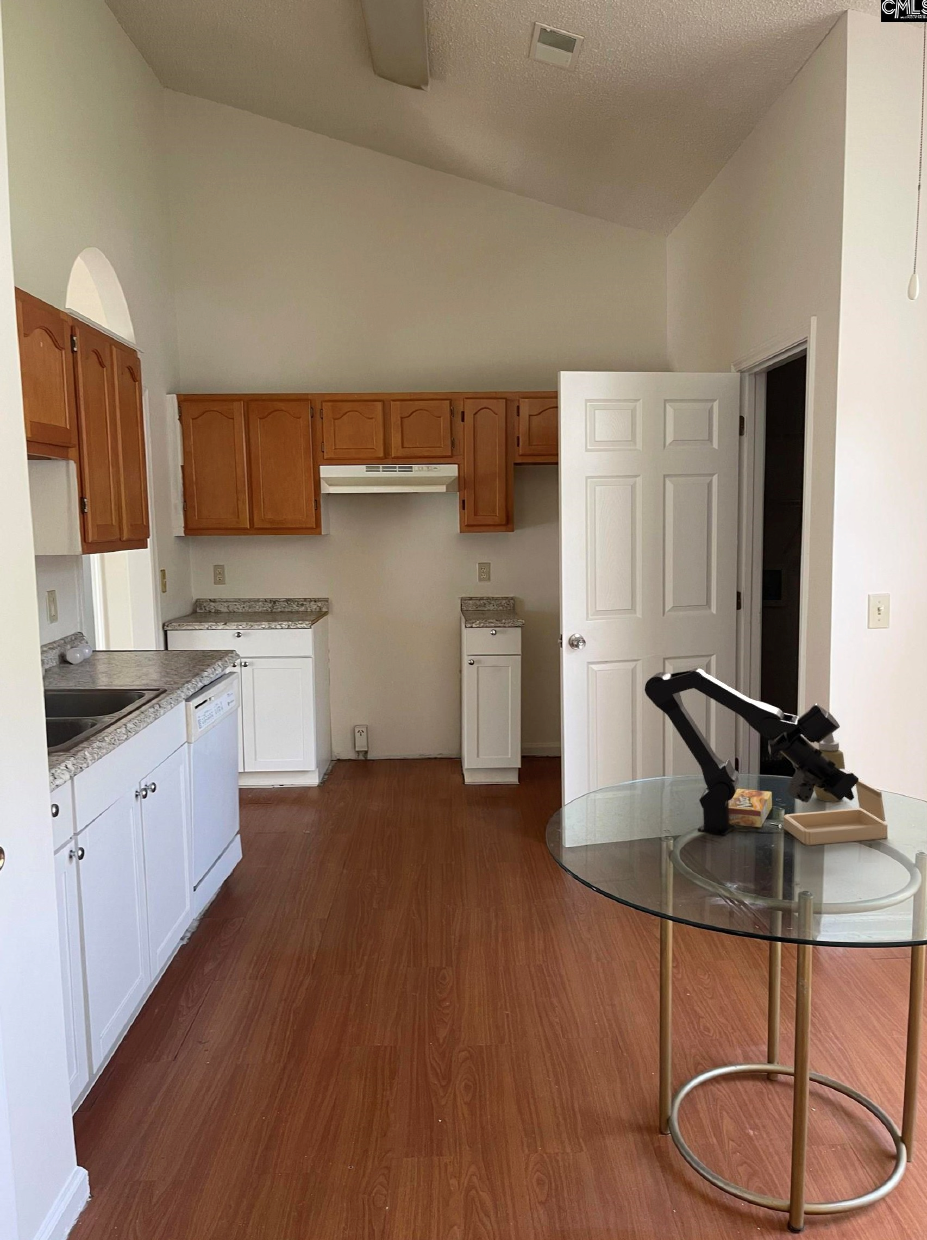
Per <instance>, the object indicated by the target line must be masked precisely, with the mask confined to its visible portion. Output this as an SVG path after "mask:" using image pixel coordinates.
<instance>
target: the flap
mask: <svg viewBox="0 0 927 1240" xmlns="http://www.w3.org/2000/svg"><path fill="white" fill-rule="evenodd" d="M855 789H856V793H857V794H856V796H857V801H858V806H859V809H862V810H864V811H866V812H867V813H869V814H871V815H872V816H874V817H876V818H877V819H879V820H880V821H882V822H884V823H885V822H886V816H885V809H884V803H883V796H882V794H883V793H882V791H881V790H878V789H877V788H875V787H873V786H871V785H869V784H868V783H866V782H865V781H863V780H860V779H859V780H858V782H857V783H856V784H855Z"/></svg>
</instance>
